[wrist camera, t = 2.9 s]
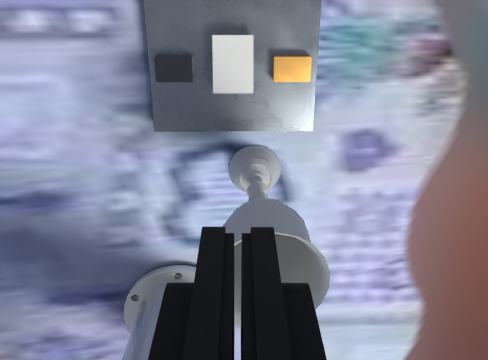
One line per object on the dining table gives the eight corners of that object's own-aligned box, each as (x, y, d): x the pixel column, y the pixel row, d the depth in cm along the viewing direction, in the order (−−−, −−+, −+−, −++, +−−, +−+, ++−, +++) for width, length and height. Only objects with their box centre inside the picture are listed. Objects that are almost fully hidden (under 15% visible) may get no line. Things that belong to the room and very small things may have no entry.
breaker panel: (309, 124, 39) (314, 134, 36) (158, 125, 39) (151, 135, 36) (317, -5, 35) (324, -5, 32) (147, -5, 35) (139, -5, 32)
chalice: (271, 121, 39) (297, 211, 23) (304, 180, 42) (349, 299, 25) (204, 159, 41) (182, 269, 24) (239, 213, 43) (242, 347, 26)
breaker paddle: (252, 93, 35) (253, 92, 33) (214, 93, 35) (213, 92, 33) (252, 38, 34) (253, 35, 33) (213, 38, 34) (212, 35, 33)
